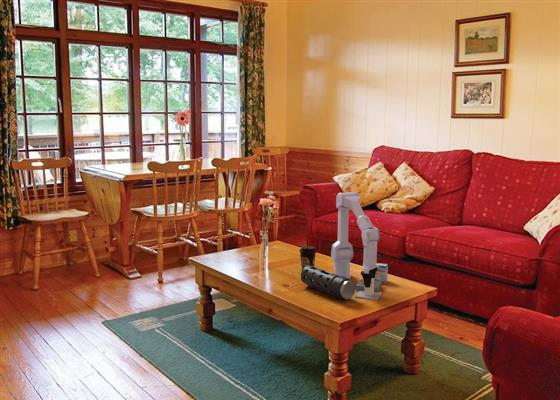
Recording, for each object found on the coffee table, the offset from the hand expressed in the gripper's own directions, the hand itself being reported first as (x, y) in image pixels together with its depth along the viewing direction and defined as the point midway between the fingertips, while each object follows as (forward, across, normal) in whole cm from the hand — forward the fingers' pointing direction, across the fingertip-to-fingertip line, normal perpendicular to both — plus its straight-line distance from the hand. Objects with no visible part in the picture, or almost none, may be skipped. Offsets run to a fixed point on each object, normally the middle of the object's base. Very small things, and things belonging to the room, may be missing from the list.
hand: (369, 284), depth 243 cm
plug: (+4, 0, 0) cm, 4 cm away
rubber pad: (+5, 0, 0) cm, 5 cm away
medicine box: (+5, +22, 0) cm, 23 cm away
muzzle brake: (+5, -4, +18) cm, 19 cm away
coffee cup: (+5, +24, +37) cm, 44 cm away
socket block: (+5, +9, +2) cm, 10 cm away
